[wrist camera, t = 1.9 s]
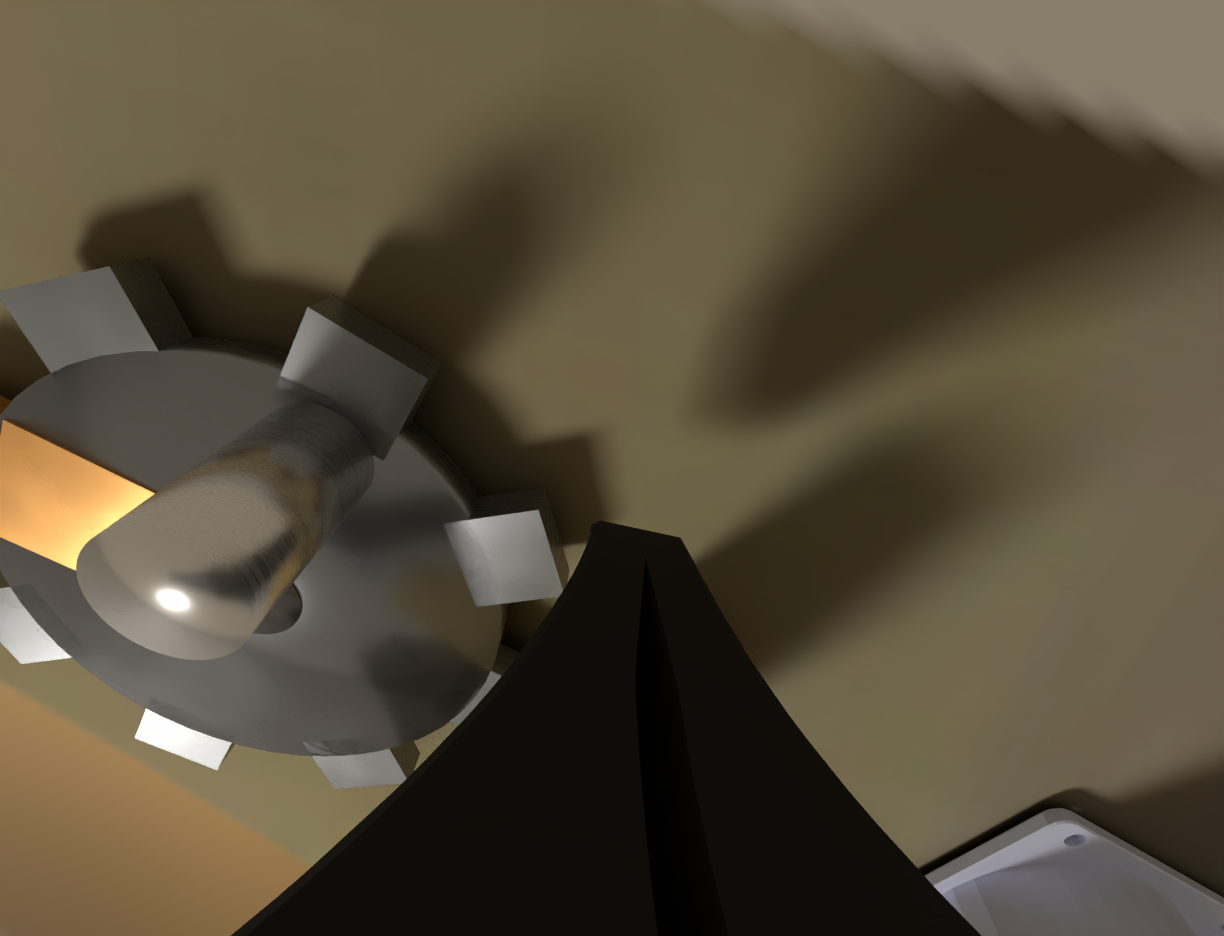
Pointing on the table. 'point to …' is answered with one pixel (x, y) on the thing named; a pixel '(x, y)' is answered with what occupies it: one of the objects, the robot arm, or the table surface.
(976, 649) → the table surface
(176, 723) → the sprocket
